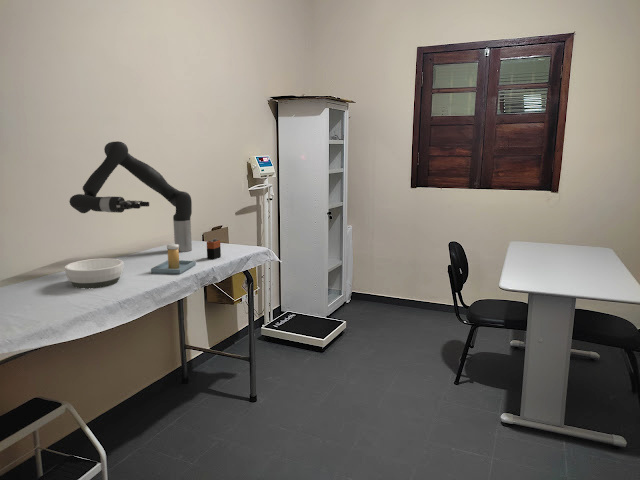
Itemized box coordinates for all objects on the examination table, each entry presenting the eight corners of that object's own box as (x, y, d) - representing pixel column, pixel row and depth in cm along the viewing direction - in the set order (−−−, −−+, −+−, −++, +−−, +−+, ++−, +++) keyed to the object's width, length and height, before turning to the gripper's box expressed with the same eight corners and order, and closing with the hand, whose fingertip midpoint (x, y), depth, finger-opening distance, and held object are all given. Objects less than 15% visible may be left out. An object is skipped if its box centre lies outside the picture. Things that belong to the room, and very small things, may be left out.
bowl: (102, 292, 190) (101, 272, 188) (53, 289, 194) (51, 269, 192) (135, 278, 211) (134, 259, 210) (90, 275, 216) (88, 257, 214)
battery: (221, 257, 253) (220, 238, 251) (213, 259, 247) (213, 240, 245) (214, 256, 255) (213, 237, 253) (206, 259, 248) (206, 240, 246)
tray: (168, 264, 236) (168, 259, 236) (195, 265, 234) (195, 260, 234) (151, 273, 219) (150, 268, 219) (180, 274, 217) (179, 269, 217)
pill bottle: (171, 266, 230) (169, 243, 228) (181, 266, 229) (180, 244, 227) (166, 269, 224) (164, 246, 222) (176, 269, 224) (175, 246, 222)
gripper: (103, 198, 220) (136, 198, 218) (120, 195, 234) (151, 195, 231) (104, 214, 221) (137, 215, 219) (121, 210, 235) (152, 211, 233)
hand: (144, 205), depth 225 cm, fingers open, 8 cm apart
